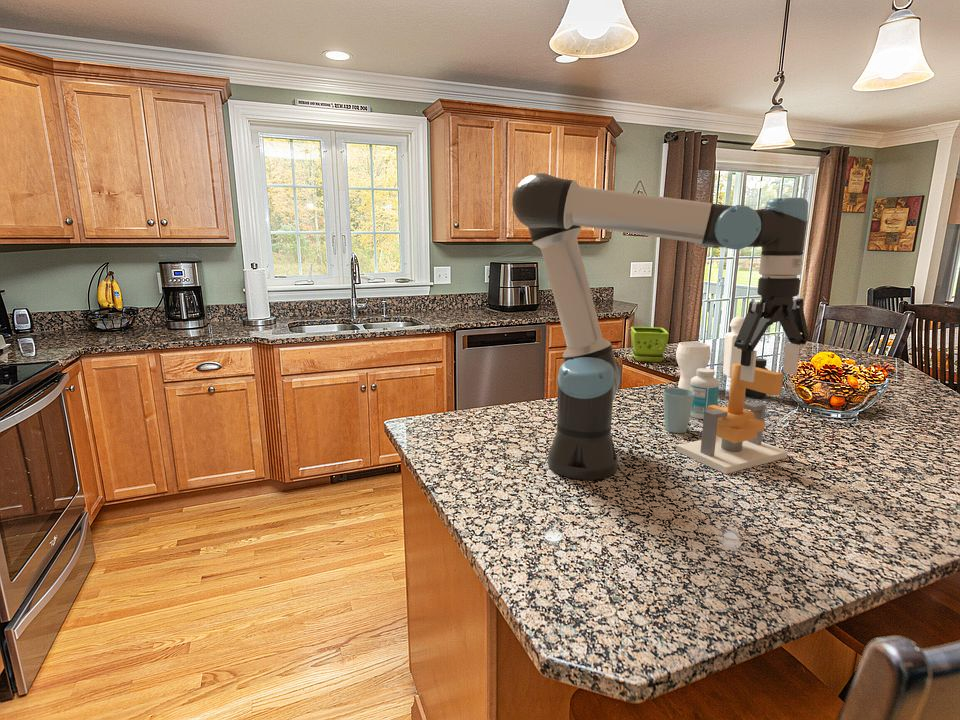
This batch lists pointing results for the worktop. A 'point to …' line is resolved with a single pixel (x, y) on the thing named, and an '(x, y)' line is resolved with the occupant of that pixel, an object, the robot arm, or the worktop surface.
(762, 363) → the supplement bottle
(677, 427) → the cup
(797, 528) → the worktop surface
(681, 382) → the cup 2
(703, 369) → the pill bottle
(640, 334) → the flower pot
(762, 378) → the lever handle
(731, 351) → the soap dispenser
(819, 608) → the worktop surface
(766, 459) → the base
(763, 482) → the worktop surface
